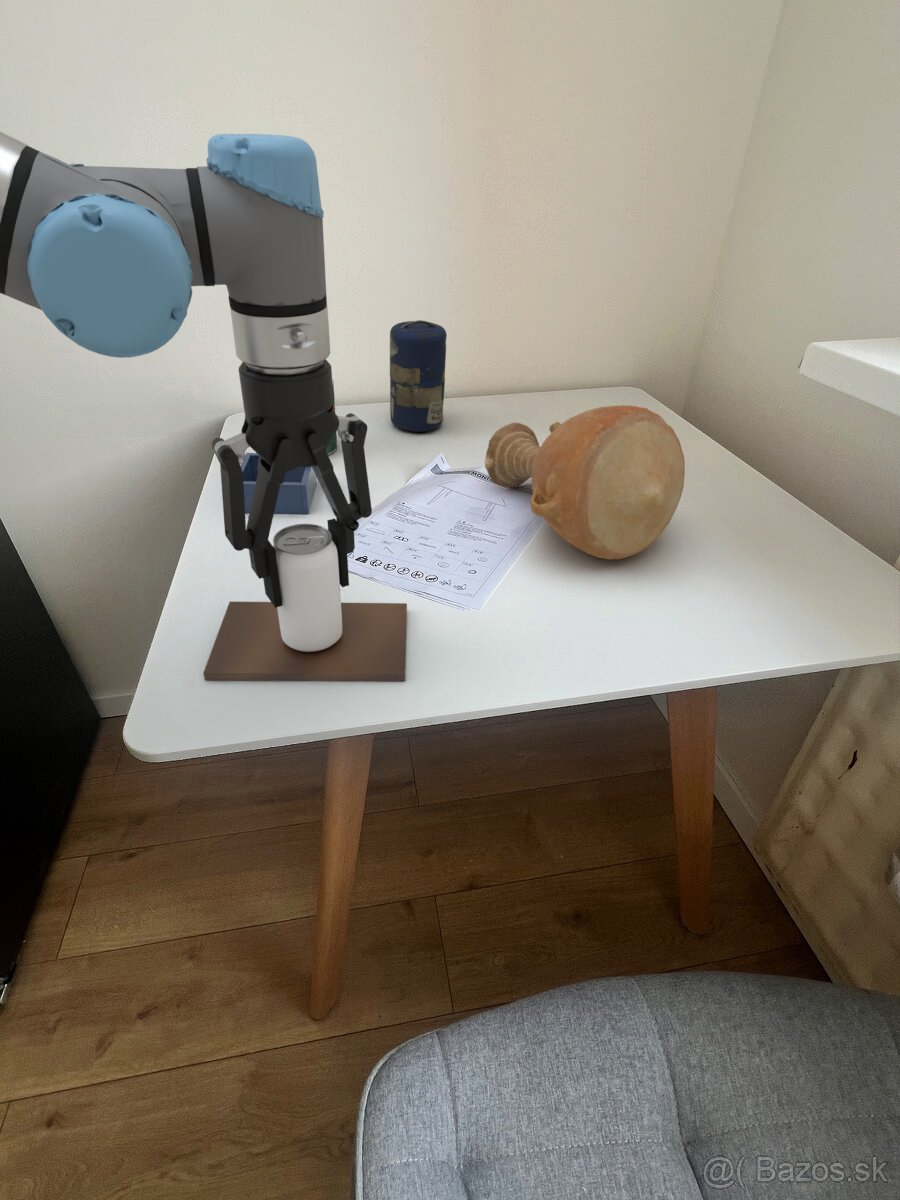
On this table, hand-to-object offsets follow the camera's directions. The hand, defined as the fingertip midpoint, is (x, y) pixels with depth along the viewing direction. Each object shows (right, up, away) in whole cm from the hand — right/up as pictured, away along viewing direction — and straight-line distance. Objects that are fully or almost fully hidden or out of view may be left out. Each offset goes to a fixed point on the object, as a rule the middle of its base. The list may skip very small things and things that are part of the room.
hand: (307, 589), depth 71 cm
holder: (-10, +14, +30) cm, 35 cm away
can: (0, -5, +4) cm, 6 cm away
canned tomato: (-8, +24, +44) cm, 51 cm away
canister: (+8, +30, +54) cm, 62 cm away
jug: (+32, +10, +28) cm, 43 cm away
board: (0, -6, +4) cm, 7 cm away
